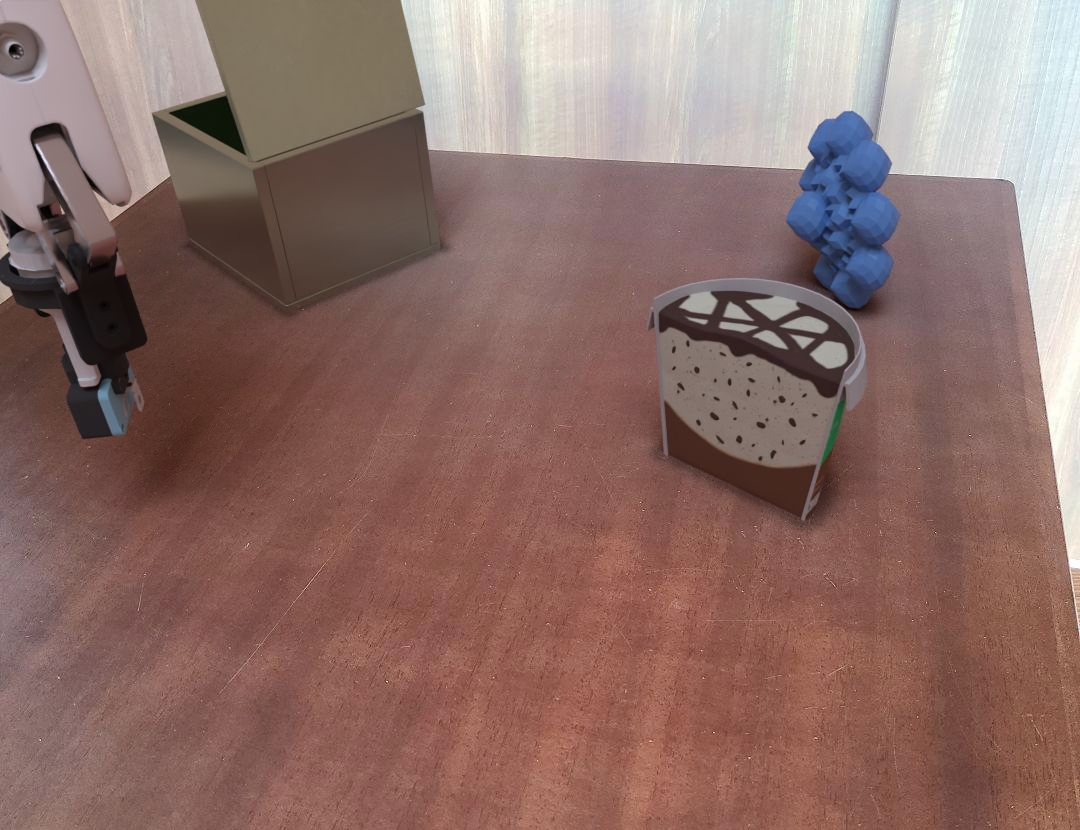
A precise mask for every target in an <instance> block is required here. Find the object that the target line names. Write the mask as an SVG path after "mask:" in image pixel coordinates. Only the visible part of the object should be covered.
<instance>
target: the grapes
mask: <svg viewBox="0 0 1080 830" xmlns="http://www.w3.org/2000/svg"><path fill="white" fill-rule="evenodd" d="M873 137H874V132H873V130H872V128H871V127H870V126H869V124H868V123H867V122H866V120H865V118H864V117H862V116H861V115H860V114H858V113H857V112H855V111H854V110H843V111H842V112H840V114H839V115H837V116H836V117H835V118H825V119H824V120H823V121H821V122H820V123H819V124H818V125H817V127H816V129H815V130H814V132H813V134H812V136H811V137H810V140H809V142H808V145H807V147H806V148H807V150H808V151H809V153H810V155H811V156H812V157H813V158H811V160H810V161H809V162H808V163H807V165H806V167H805V168H804V170H803V172H802V174H801V177H800V179H799V181H798V186H799V187H800V189H801V190H802V192H801V193H800V194H799V195H798V196H797V197H796V198H795V199H794V201H793V203H792V205H791V207H790V209H789V211H788V213H787V215H786V218H785V222H786V223H787V226H789V228H790V230H792V232H793V233H794V235H796V236H797V237H798V238H800V239H801V240H802V241H804V242H806V243H808V244H809V246H811V247H812V248H813V249H815V250H816V251H818V252H819V253H820V255H819V257H818V259H817V261H816V263H815V266H814V269H813V271H812V273H813V275H814V276H815V277H816V279H817V281H819V283H820V284H821V285H822V286H823V287H824V288H826V289H827V290H828V291H830V292H832V293H833V294H834V295H835V297H836V298H837V299H838V300H839V302H841V303H842V304H843V305H845V306H846V307H847V308H850V309H861V308H862V307H864V306H865V305H867V304H868V302H869V300H870V299H871V298H872V296H873V294H874V292H876V291H878V290H880V289H881V288H882V287H884V285H885V284H886V282H887V281H888V279H889V277H890V275H891V273H892V270H893V267H894V265H895V260H894V259H893V257H892V255H891V254H890V253H889V251H888V250H887V249H886V248H885V246H884V244H886V243H887V242H888V241H890V240H891V238H892V236H893V234H894V233H895V232H896V229H897V227H898V225H899V222H900V218H901V213H900V211H899V209H898V207H897V206H896V205H895V204H894V202H893V201H892V200H891V198H889V197H888V196H887V195H885V194H883V193H882V192H880V191H879V190H880V189H881V188H882V187H883V185H884V183H885V181H886V180H887V178H888V177H889V173H890V171H891V168H892V166H893V162H892V160H891V158H890V157H889V154H888V153H887V152H886V150H884V147H882V146H881V145H880V144H878V143H877V142H876V141H874V140H873ZM877 191H878V192H877Z"/></svg>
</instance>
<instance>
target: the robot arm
mask: <svg viewBox="0 0 1080 830" xmlns="http://www.w3.org/2000/svg"><path fill="white" fill-rule="evenodd" d="M66 13H67V12H66V11H65V9H64V7H63V4H62V2H61V0H0V229H1V230H2V232H3V234H4V236H5V237H6V238H7V240H8V241H9V240H10V239H11V238H12V237H13V236H15V235H16V234H17V233H18V232H21V231H23V230H25V229H27V230H30V231H33V232H35V233H36V235H37V237H38V240H39V242H40V244H41V246H42V248H43V250H44V252H45V255H46V257H47V259H48V261H49V263H50V265H51V267H52V270H53V272H54V274H55V276H56V278H57V280H58V282H59V284H60V286H61V287H58V288H55V289H53V290H54V292H55V295H56V297H57V300H58V302H59V305H60V307H61V310H62V313H63V315H64V318H65V320H66V323H67V325H68V328H69V330H70V333H71V335H72V338H73V340H74V343H75V345H76V348H77V350H78V353H79V356H80V358H81V359H82V360H83V361H84V362H85V363H86V364H87V365H90V366H93V365H96V364H99V363H101V362H104V361H106V360H109V359H111V358H114V357H116V356H119V355H121V354H124V353H129V352H131V351H135V350H137V349H139V348H143V346H145V345H146V344H147V343H148V335H147V331H146V328H145V325H144V323H143V319H142V317H141V315H140V310H139V307H138V305H137V302H136V298H135V296H134V294H133V290H132V288H131V284H130V281H129V279H128V275H127V273H126V269H125V265H124V263H123V260H122V258H121V256H120V253H119V248H118V243H119V240H118V236H117V233H116V230H115V229H114V227H113V225H112V223H111V220H110V219H109V217H108V216H107V214H106V212H105V210H104V208H103V206H102V205H101V203H100V200H99V199H98V197H97V195H99V196H100V197H101V198H103V199H104V200H105V201H106V202H108V203H109V204H110V205H112V206H117V207H119V208H123V207H126V206H128V205H129V203H130V201H131V199H132V195H133V190H132V187H131V184H130V183H131V182H130V180H129V177H128V175H127V172H126V169H125V167H124V166H125V165H124V164H123V161H122V158H121V155H120V152H119V150H118V147H117V144H116V141H115V139H114V135H113V132H112V130H111V127H110V125H109V122H108V119H107V116H106V113H105V110H104V108H103V105H102V103H101V100H100V97H99V94H98V92H97V89H96V86H95V83H94V81H93V78H92V75H91V73H90V70H89V68H88V65H87V63H86V60H85V57H84V55H83V52H82V50H81V46H80V44H79V42H78V40H77V36H76V35H75V32H74V30H73V27H72V25H71V23H70V20H69V17H68V15H67V14H66ZM96 194H97V195H96ZM70 229H73V232H74V240H75V242H76V243H73V244H70V245H68V249H67V254H66V255H67V259H66V257H65V255H64V252H63V250H62V248H61V246H60V244H59V242H58V239H57V237H56V235H55V234H58V233H61V232H64V231H67V230H70ZM6 247H7V248H8V243H6ZM33 311H34V312H35V314H36V315H38V316H39V317H40V318H45V319H46V318H49V317H53V316H52V315H51V314H49V313H46V312H44V311H41V310H39V309H33Z"/></svg>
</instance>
